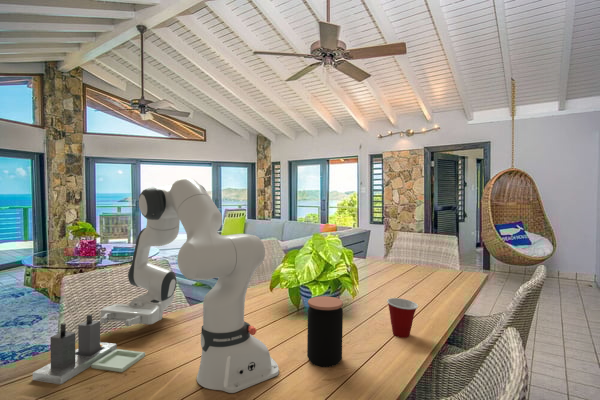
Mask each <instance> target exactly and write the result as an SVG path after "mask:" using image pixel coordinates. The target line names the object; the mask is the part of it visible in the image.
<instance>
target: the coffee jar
mask: <svg viewBox="0 0 600 400" xmlns="http://www.w3.org/2000/svg"><path fill="white" fill-rule="evenodd" d="M307 304H308V306H309V307H308V308H307V338H306V339H307V345H306V346H307V347H306V348H307V350H306V353H307V354H306V356H307V358H308V360H309V362H310V363H311V364H312V365H314V366H316V367H319V368H333V367H335V366H337V365H340V363H341V361H342V359H343V330H344V329H343V323H344V322H343V319H344V318H343V317H344V311H343V310H344V309H343V308H342V307H343V305H344V301H343V300H342V299H341V298H338V297H334V296H328V295H327V296H325V295H321V296H314V297H311V298H309V299H308V300H307Z"/></svg>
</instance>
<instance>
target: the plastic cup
mask: <svg viewBox="0 0 600 400" xmlns="http://www.w3.org/2000/svg"><path fill="white" fill-rule="evenodd" d="M386 302H387V304H388V311H389V317H390V324H391V331H392V335H393V336H395V337H397V338H401V339H407V338H409V337H410V335H411V332H412V331H411V330H412V326H413V322H414V316H415V314H416V310H417V309H418V307H419V305H418V303H416V302H414V301H412V300H409V299H405V298H400V297H399V298H398V297H390V298H387V300H386Z"/></svg>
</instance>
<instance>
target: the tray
mask: <svg viewBox="0 0 600 400" xmlns="http://www.w3.org/2000/svg"><path fill="white" fill-rule="evenodd" d="M144 357H146V352H145V351H138V350H137V351H136V350H129V349H128V350H127V349H122V348H121V349H120V348H117V349H116V350H114V351H113V352H111V353H109V354H108V355H106V356H104V357H103V358H101V359H100V360H98V361H96V362H95V363H93V364H92V366H91V369H97V370H105V371H111V372H119V373H123V372H124V371H126V370H127V369H129V368H130V367H131V366H133V365H135V364H136V363H138V362H139V361H140V360H141V359H143V358H144Z"/></svg>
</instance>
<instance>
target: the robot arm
mask: <svg viewBox="0 0 600 400" xmlns="http://www.w3.org/2000/svg"><path fill="white" fill-rule="evenodd" d="M138 207H139V210H140V212H141V215H142V216H143V217H144V218H145V219H146V226H145V227H144V228H143V229H141V230H140V231H139V234H138V235H137V238H136V242H135V246H134V251H133V256H132V259H131V261H132V262H131V265H130V267H129V270H128V273H127V278H128V282H129V283H130V285H131V286H135V287H138V288H142V289H144V290H146V291H147V292H146V293H144V294H142V295H139V296H138V297H135V298H133V299H132V300H131V301H129V304H126V303H115V304H112V305H111V304H110V305H109V306H106V307H103V308H101V310H100V320H99V321H100V324H106V323H108V322H109V321H113V322H121V323H122V322H124V325H125V327H131V326H132V325H137V324H138V325H140V324H141V325H153V324H155V323H156V322H158V321H162V319H163V313H164V312H163V311H164V310H165V309H167V307H169V306H170V305H171V304H172V303H173V301H174V298H175V292H176V289H177V283H178V281H177V276H176V273H175V272H174V271H172V270H170V269H168V268H165V267H162V266H159V265H156V264H153V263H152V262H151V261H150V260H149V257H150V250H151V247H162V246H163V247H164V246H167V245H169V244H171V243H172V242H174V241H175V240H176V239H177V237H178V235H179V232H180V222H181V225H182V227H183V229H184V231H185V234H186V241H185V242H184V243H183V244H182V246H181V247H180V249H179V251H178V254H177V266H178V267H177V268H178V269H179V271H180V273H181V274H182V275H183V277H184V278H186V279H188V280H197V281H200V280H201V281H206V280H207V281H208V280H211V279H217V281H216V283H215V284H214V286H213V287H212V288H211V289H210V290H209V291H208V292H207V293H206V294H205V296H204V299H203V302H202V303H203V304H202V307H203V309H202V310H203V311H202V312H203V313H202V326H201V332H200V346H201V347H200V348H201V355H200V356H201V357H200V364H199V368H198V371H197V376H196V382H197V383H198V384H199V385H200V386H201V387H203V388H205V389H209V390H215V391H223V392H226V393H229V394H235V393H237V392H239V391H242V390H244V389H247V388H249V387H252V386H254V385H257V384H259V383H262V382H264V381H268V380H269V379H271V378H274V377H277V376H279V374H280V368H279V365H278V363H277V362H276V361H275V359H273V357H271V353H270V351H269V349H268V347H267V345H266V344H265V343H264V342H263V341H261V340H260V339H259V338H256V337H255V336H254V335H256V333H257V328H256V327H255V326H254V325H251V324H250V323H248V322H247V321H245V302H246V295H247V292H248V287H249V284H250V282H251V280H252V278H253V276H254V274H255V272H256V271H257V269H259V268H260V266H261V265H262V264H263V262H264V260H265V255H266V247H265V245H264V242H263V241H262V239H261V238H260V237H259V236H258V235H254V234H249V233H235V234H234V233H233V234H226V235H224V234H223V235H222V234H220V233H218V231H220V229H221V227H222V224H223V214H222V213H221V211H220V210H219V208H218V207H217V205H216V203H215V202H214V200H213V199H212V198H211V196H210V195H209V193H208V192H207V190H206V189H205V187H204V186H203V184H202V185H201V184H200V183H199V182H198V181H197V180H195V179H193V178H190V177H182V178H179V179H177V180H176V181H174V183H173V184H172V183H171V184H167V185H160V186H151V187H148V188H145V189H143V190H142V191H141V193H140V194H139V196H138Z"/></svg>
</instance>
